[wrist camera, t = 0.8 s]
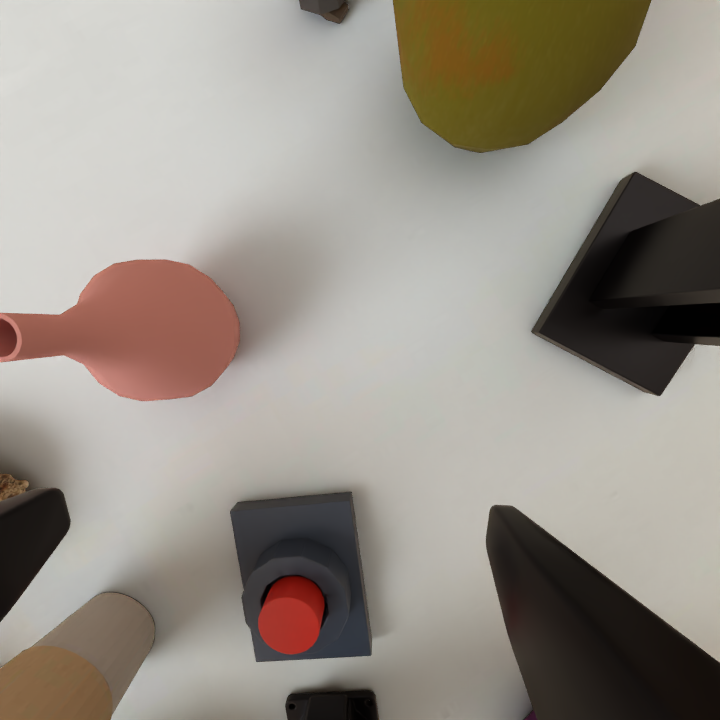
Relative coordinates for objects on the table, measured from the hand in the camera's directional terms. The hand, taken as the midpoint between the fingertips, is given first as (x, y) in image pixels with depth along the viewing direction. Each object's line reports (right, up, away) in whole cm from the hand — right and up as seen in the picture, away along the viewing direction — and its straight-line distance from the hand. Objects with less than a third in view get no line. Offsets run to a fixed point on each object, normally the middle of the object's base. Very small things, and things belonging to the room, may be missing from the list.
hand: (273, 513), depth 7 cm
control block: (-2, -12, +17) cm, 21 cm away
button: (-2, -12, +14) cm, 19 cm away
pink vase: (-9, +5, +16) cm, 19 cm away
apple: (+9, +19, +13) cm, 24 cm away
